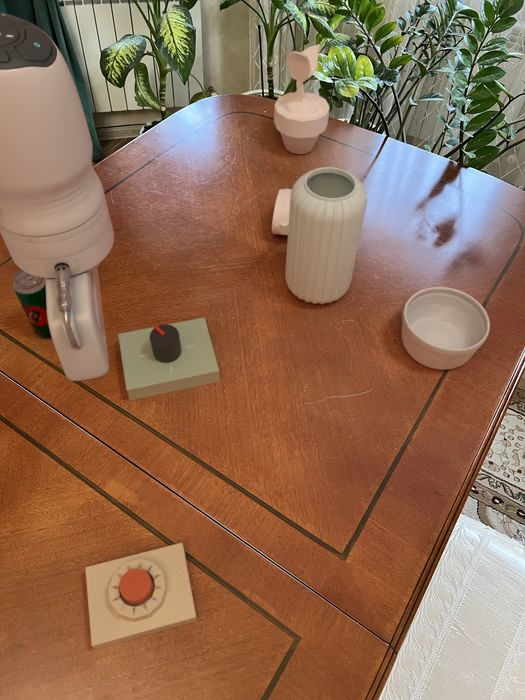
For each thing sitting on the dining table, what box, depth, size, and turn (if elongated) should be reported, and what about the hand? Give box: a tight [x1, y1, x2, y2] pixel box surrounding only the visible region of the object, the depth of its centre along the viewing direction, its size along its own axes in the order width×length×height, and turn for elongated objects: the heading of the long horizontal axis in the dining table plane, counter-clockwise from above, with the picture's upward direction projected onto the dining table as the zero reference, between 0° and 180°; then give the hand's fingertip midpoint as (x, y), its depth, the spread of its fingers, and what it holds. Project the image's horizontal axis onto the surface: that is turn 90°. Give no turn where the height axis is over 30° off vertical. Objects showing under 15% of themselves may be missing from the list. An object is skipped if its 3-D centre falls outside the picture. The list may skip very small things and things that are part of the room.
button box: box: [85, 542, 198, 650], centre depth 68 cm, size 12×9×4 cm
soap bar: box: [271, 187, 292, 236], centre depth 108 cm, size 12×9×8 cm
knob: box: [150, 324, 182, 363], centre depth 87 cm, size 4×4×4 cm
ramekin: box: [401, 286, 491, 371], centre depth 92 cm, size 13×13×7 cm
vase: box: [284, 166, 368, 305], centre depth 93 cm, size 12×12×22 cm
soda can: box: [12, 269, 52, 339], centre depth 90 cm, size 5×5×12 cm
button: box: [119, 568, 153, 604], centre depth 66 cm, size 4×4×2 cm
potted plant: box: [273, 42, 330, 155], centre depth 118 cm, size 13×12×25 cm
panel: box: [117, 317, 221, 402], centre depth 90 cm, size 14×11×3 cm
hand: (93, 330), depth 59 cm, fingers closed
